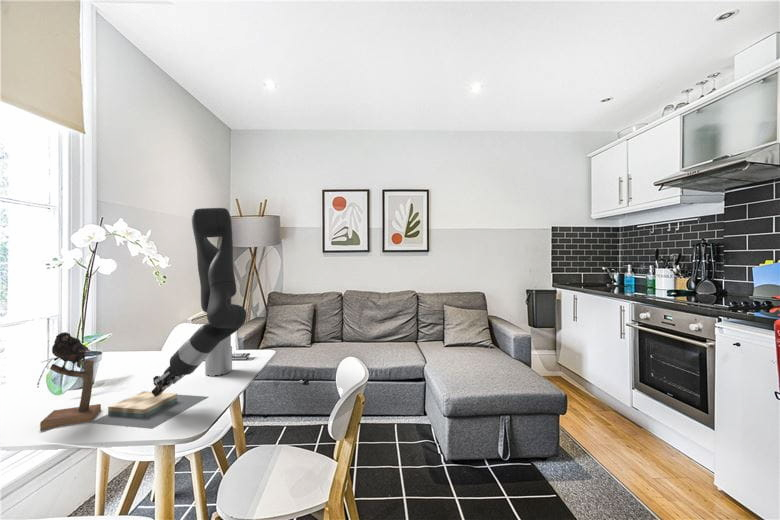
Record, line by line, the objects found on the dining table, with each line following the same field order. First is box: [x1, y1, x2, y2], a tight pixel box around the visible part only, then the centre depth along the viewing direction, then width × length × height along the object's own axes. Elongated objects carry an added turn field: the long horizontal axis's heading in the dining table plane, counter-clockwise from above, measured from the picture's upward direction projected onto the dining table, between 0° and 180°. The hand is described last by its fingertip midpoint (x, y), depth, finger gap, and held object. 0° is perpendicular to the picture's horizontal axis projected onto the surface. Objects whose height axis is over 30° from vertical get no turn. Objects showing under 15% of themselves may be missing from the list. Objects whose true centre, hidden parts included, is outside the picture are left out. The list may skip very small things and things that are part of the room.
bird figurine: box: [39, 332, 102, 431], centre depth 101 cm, size 11×14×25 cm
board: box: [107, 391, 178, 418], centre depth 106 cm, size 12×2×12 cm
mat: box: [89, 394, 209, 429], centre depth 105 cm, size 22×20×1 cm
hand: (155, 393), depth 105 cm, fingers closed
